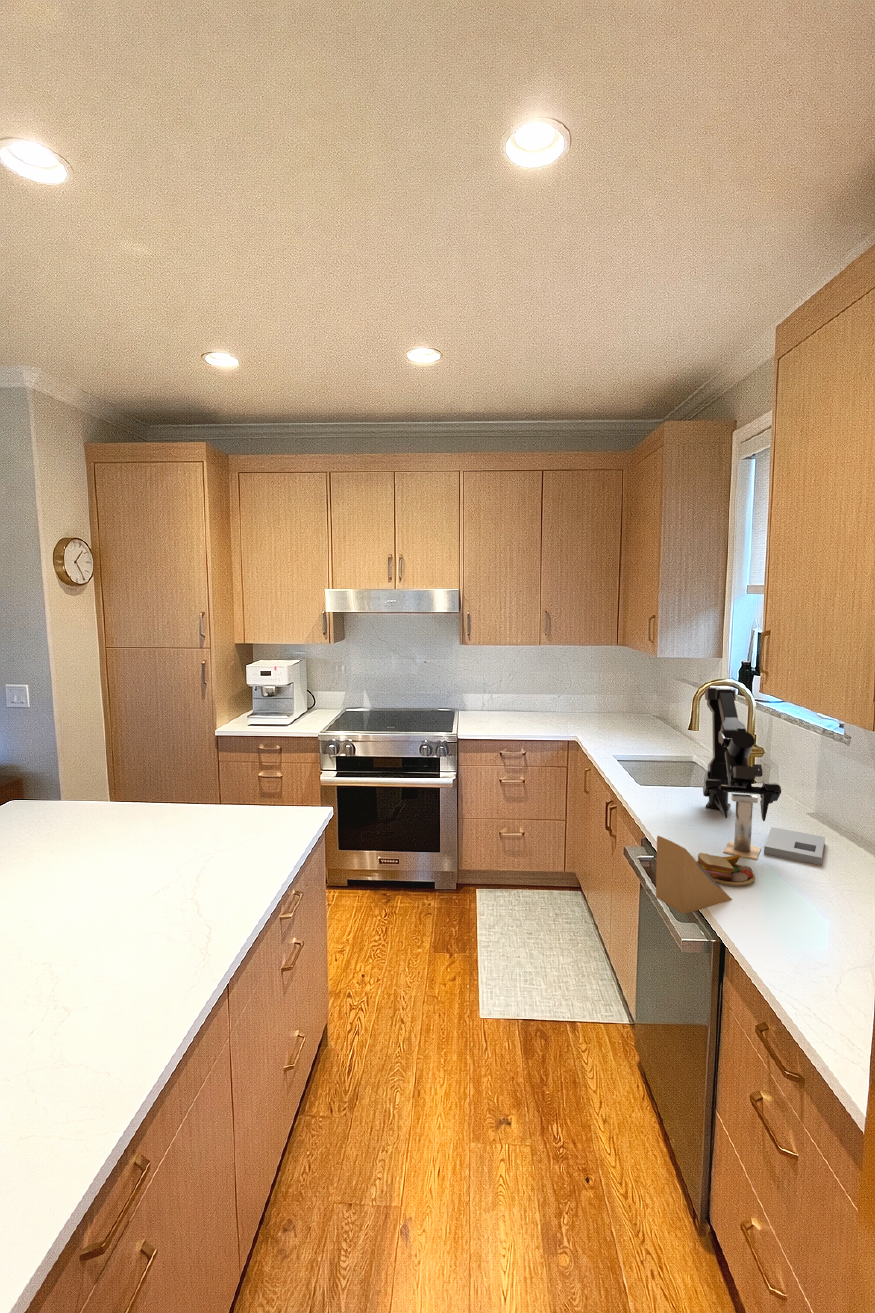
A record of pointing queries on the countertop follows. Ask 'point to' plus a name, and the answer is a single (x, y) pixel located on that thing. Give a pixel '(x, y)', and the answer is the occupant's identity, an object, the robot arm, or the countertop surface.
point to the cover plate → (795, 845)
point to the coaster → (752, 854)
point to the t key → (743, 821)
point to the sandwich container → (684, 880)
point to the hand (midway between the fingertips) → (745, 819)
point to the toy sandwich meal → (726, 870)
